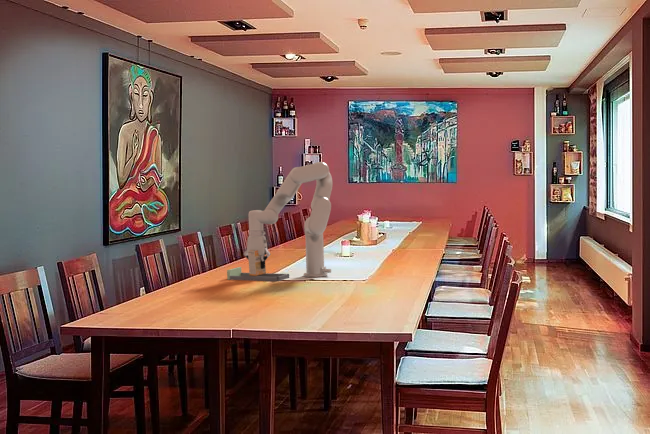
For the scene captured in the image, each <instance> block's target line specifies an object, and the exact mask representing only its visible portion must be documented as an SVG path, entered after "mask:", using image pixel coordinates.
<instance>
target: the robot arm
mask: <svg viewBox="0 0 650 434" xmlns="http://www.w3.org/2000/svg"><path fill="white" fill-rule="evenodd" d="M312 181H313V182H314V181H316V184H315V185H316V186H315V188H314V189H315V190H314V193H313V197H312V201H311V203H310V208H311V212H310V216H309V217H307V218H306V220H304V221H305V222H304V229H303V230H304V236H305V237H304V239H305V263H306V264H305V266H306V267H305V268H306V269H305V271H306V272H304V273H303V276H304V277H306V278H318V277H319V278H320V277H326V276H327V277H328V273H329V274H331V273H332V269H331V268H327V266H325V250H324V249H325V248H324V232H325V231H326V228H327V225H328V222H329V219H330V216H331V215H330V214H331V212H332V202H331V201H330V199H331V195H332V191H333V177H332V174H331V173H330V167H329V165H328V164H327V163H326V162H323V161H318V162H314V163H311V164H307V165H303V166H295V167H293V168H292V169H291V171H289V173H288V174H287V176H286V178H285V179H284V181H283V182H282V184H281V185H280V187H278V190H277V191H276V193H275V194H274V196H273V197H272V198H271V200H270V201H269V202H268V205H267V206H266V207H265V208H264V210H261V209H255V210H250V211H248V237H247V240H246V241H247V243H246V244H247V245H246V250H245V251H244V253H243V255H244V256H245V258H246V259H247V260H248V261H249V259H248V251H251V250H258V255H259V256H260V257H261V260H262V261H261V269H264V268H265V266H266V261H267V259H268V258H269V257H270V256H271V253H270V251H269V250H268V243H267V239H266V236H265V235H266V234H267V233H266V231H264V224H265V225H266V224H267V225H274V224H275V223H277V222H278V220H279V214H280V212H281V211H282V210H283V209H284V207H285V206H286V205H287V204H288V203H289V202H290V201H291V200H292V199H293V198H294V196H295V195H296V193H297V192H298V190H299V189H300V187H301V186H302V184H304V183H309V182H312Z"/></svg>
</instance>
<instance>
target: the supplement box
mask: <svg viewBox="0 0 650 434" xmlns="http://www.w3.org/2000/svg"><path fill="white" fill-rule="evenodd" d="M248 259H249V260H248ZM248 259H247V260H248V270H249V272H248V273H249V274H250V275H251V276H257V275H261V274H265V273H267V269H266V265H265V268H264V269H261V261H262V260H261V257H260V256H259V255H258V250H251V251H248Z"/></svg>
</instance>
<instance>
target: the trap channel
mask: <svg viewBox="0 0 650 434" xmlns="http://www.w3.org/2000/svg"><path fill="white" fill-rule="evenodd" d="M226 275H227V277H226V279H227V281H229V280H231V281H253V282H254V281H256V282H257V281H259V282H262V281H263V282H280V281H284V280H286V279H289V278H290V274H289V273H275V272H274V273H271V272H270V273H267V272H266V273H265V274H261V275H257V276H251V275H250V274H249V272H243V271H242V266H238V267H235V268H230V269H227V270H226Z"/></svg>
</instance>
